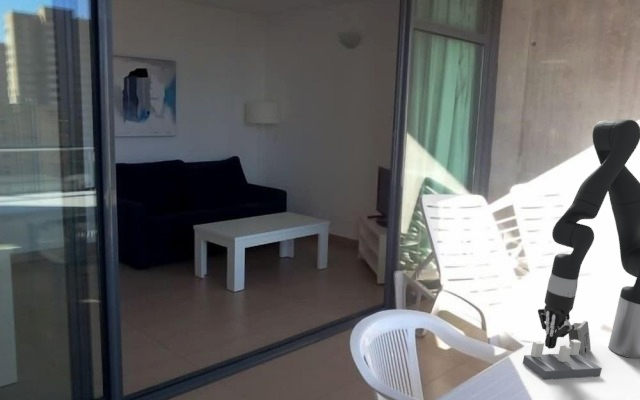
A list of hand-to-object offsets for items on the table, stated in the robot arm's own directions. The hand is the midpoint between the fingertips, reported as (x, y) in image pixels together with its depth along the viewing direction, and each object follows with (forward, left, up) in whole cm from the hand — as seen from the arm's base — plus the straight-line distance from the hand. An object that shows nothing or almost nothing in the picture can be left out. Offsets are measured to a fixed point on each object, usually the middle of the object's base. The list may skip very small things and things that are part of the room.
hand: (549, 347), depth 158 cm
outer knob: (+7, 0, -2) cm, 7 cm away
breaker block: (+2, +5, -4) cm, 7 cm away
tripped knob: (+2, +5, -2) cm, 6 cm away
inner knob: (-5, +5, -2) cm, 7 cm away
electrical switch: (-15, +1, -4) cm, 16 cm away
